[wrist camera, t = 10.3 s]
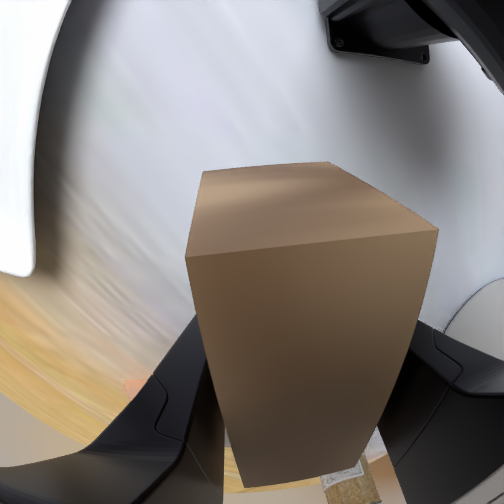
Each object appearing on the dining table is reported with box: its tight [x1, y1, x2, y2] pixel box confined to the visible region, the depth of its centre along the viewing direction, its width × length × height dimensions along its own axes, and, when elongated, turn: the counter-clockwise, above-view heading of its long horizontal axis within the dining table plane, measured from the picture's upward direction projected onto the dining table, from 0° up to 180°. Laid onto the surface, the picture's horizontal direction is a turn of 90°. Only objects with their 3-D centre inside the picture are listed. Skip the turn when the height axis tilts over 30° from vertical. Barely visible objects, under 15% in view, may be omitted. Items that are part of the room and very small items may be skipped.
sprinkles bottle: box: [320, 452, 384, 504], centre depth 21 cm, size 5×5×14 cm
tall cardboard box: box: [185, 162, 439, 488], centre depth 9 cm, size 6×13×5 cm, turn 4°
